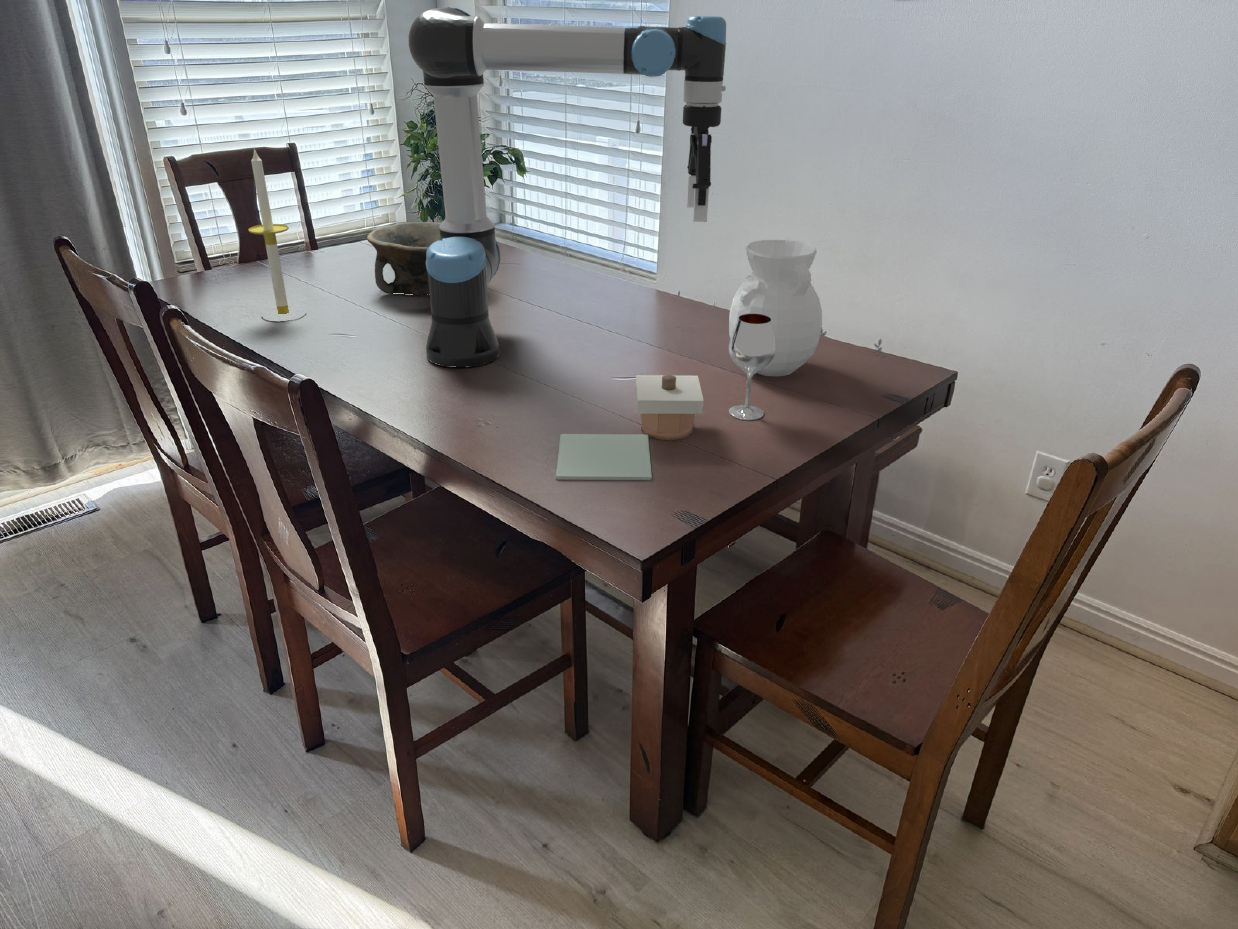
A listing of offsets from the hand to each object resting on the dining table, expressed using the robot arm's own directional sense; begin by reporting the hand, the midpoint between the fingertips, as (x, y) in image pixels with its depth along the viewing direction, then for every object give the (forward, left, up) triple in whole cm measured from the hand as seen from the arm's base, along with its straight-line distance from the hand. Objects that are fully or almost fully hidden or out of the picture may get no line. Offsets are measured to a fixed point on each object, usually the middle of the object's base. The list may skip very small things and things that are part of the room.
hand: (696, 214), depth 180 cm
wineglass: (+7, -39, -28) cm, 49 cm away
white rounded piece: (+15, -17, -28) cm, 36 cm away
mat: (-19, -57, -27) cm, 66 cm away
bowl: (-65, +35, -28) cm, 79 cm away
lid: (-8, -46, -22) cm, 52 cm away
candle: (-95, +14, -28) cm, 100 cm away
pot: (-8, -46, -27) cm, 54 cm away
